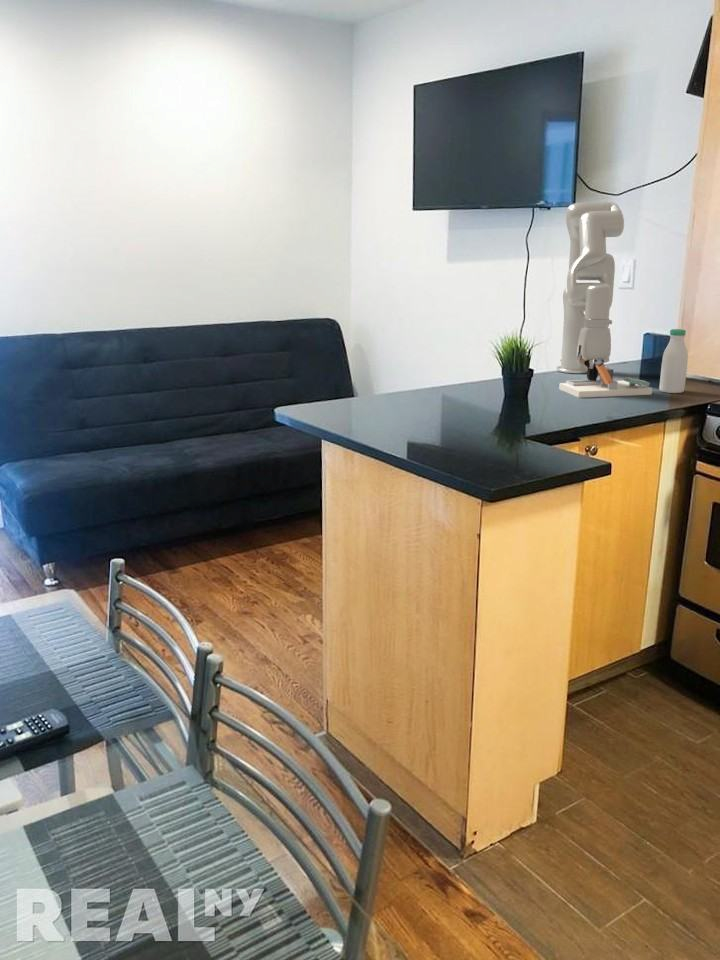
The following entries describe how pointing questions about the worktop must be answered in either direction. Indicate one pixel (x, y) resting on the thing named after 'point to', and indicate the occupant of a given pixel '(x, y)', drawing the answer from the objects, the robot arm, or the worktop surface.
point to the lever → (603, 372)
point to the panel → (603, 388)
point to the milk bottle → (674, 363)
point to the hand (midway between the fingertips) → (591, 380)
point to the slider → (609, 373)
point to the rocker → (636, 381)
